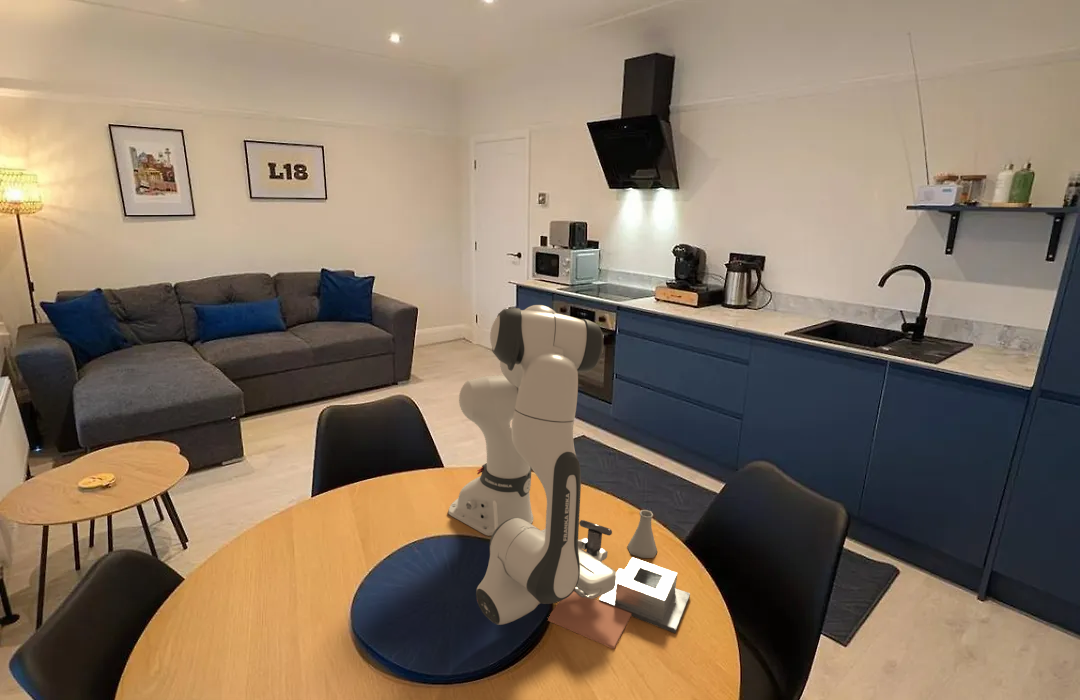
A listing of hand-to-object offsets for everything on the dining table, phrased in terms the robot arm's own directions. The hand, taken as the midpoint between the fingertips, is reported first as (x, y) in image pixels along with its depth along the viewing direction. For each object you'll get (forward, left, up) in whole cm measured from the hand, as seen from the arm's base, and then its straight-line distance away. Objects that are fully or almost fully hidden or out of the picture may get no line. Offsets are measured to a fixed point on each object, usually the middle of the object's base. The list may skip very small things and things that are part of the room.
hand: (596, 547), depth 118 cm
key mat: (+4, -11, -9) cm, 14 cm away
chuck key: (0, -1, -9) cm, 9 cm away
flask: (+6, +17, -9) cm, 20 cm away
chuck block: (+12, 0, -9) cm, 14 cm away
